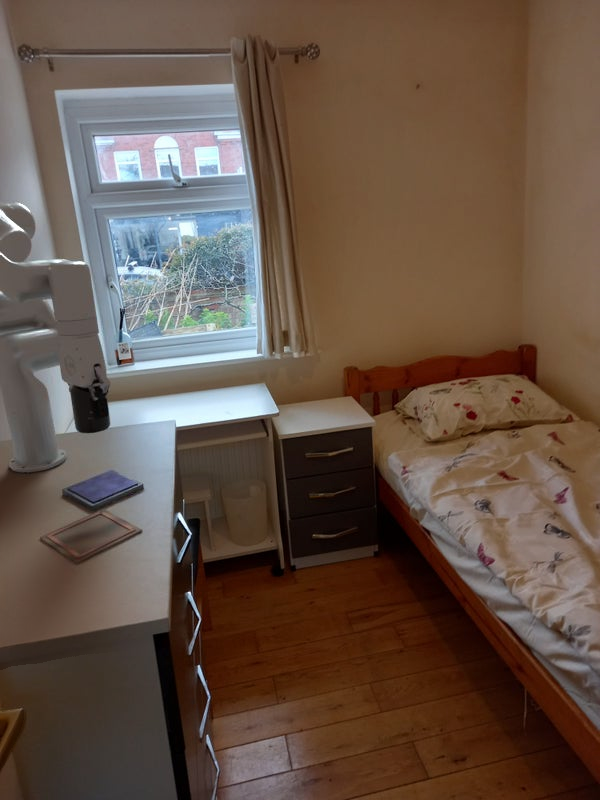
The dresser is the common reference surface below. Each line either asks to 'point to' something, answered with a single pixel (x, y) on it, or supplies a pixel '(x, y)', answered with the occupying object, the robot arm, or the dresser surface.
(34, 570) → the dresser surface
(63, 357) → the robot arm
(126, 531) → the marked board
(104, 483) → the ink pad
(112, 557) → the dresser surface
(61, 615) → the dresser surface
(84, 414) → the supplement bottle
